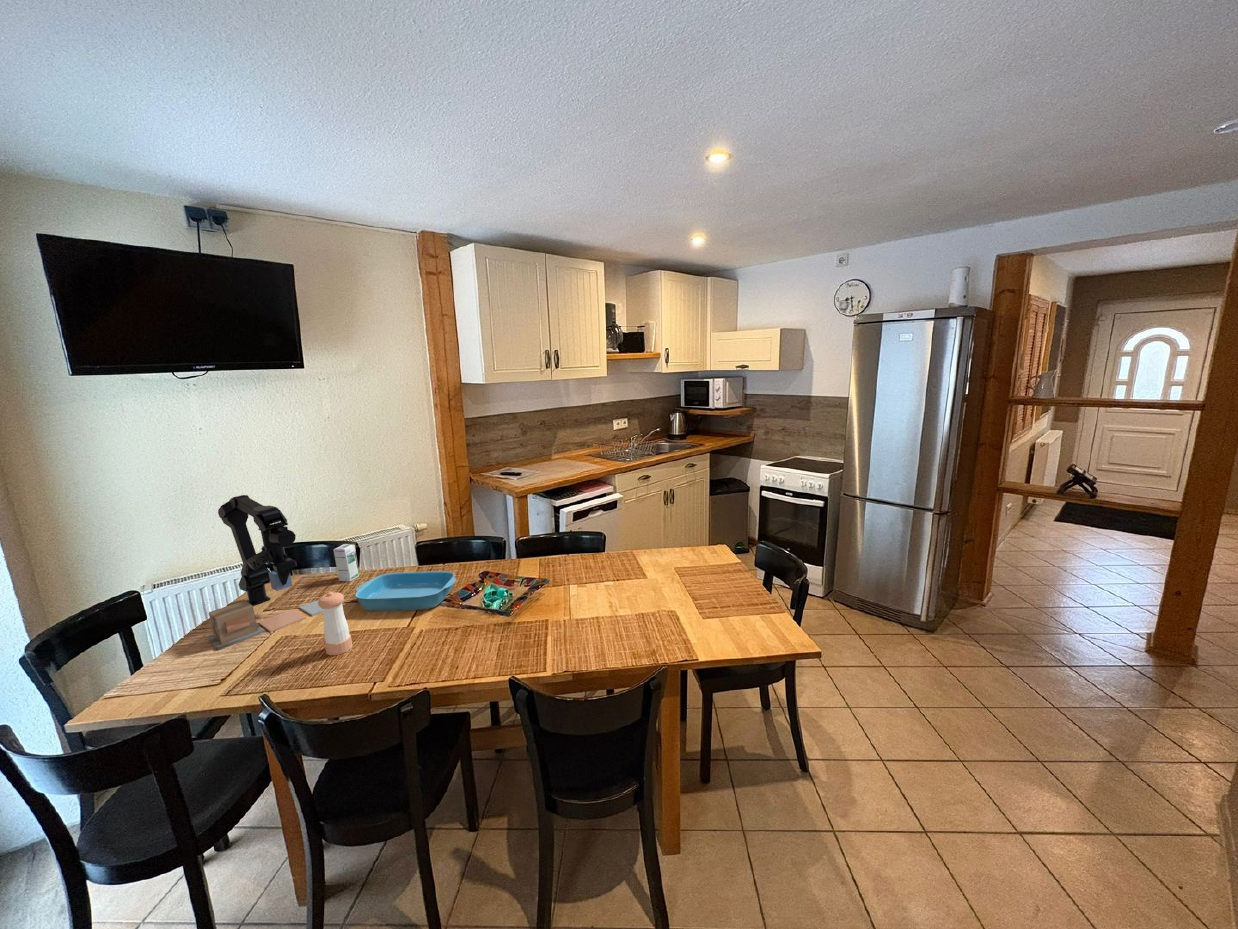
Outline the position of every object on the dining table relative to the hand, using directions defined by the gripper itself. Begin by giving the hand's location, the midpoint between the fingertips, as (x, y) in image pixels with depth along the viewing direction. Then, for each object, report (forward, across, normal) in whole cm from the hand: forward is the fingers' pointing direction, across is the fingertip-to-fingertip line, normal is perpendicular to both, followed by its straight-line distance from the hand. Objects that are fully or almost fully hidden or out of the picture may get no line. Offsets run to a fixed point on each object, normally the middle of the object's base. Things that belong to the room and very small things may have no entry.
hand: (281, 583), depth 180 cm
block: (+2, 0, 0) cm, 2 cm away
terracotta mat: (+11, +7, -4) cm, 14 cm away
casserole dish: (+12, +32, +30) cm, 45 cm away
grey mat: (+11, +7, +9) cm, 16 cm away
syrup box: (+11, -10, +27) cm, 31 cm away
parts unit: (+11, +5, -17) cm, 21 cm away
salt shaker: (+12, +44, -1) cm, 46 cm away
